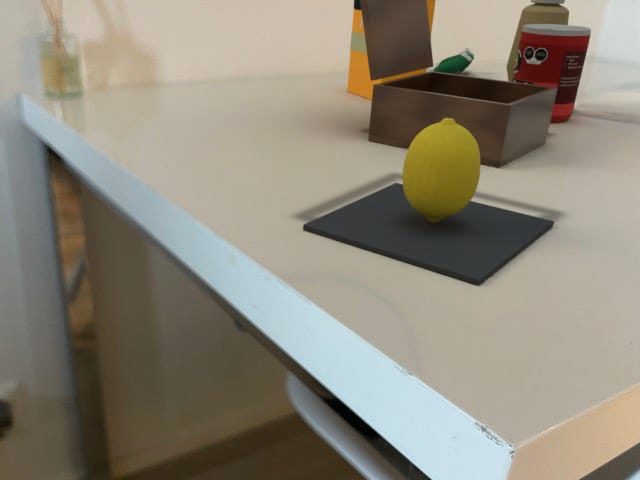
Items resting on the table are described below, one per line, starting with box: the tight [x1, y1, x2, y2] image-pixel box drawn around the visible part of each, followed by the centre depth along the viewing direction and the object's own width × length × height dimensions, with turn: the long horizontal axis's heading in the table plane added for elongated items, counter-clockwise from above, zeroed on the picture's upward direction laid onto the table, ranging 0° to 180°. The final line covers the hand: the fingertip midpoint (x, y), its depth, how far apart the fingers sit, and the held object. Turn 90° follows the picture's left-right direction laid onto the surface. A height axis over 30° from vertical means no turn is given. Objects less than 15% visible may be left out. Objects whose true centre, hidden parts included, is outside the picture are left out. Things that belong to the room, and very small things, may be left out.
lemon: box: [402, 118, 481, 223], centre depth 49 cm, size 6×6×8 cm
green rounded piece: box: [432, 46, 475, 75], centre depth 115 cm, size 9×4×6 cm
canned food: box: [512, 24, 592, 123], centre depth 85 cm, size 8×8×11 cm
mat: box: [302, 182, 555, 286], centre depth 51 cm, size 14×14×1 cm
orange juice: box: [346, 0, 436, 101], centre depth 94 cm, size 8×9×20 cm
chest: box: [367, 70, 557, 169], centre depth 73 cm, size 15×13×6 cm
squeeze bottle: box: [506, 0, 570, 82], centre depth 98 cm, size 8×8×18 cm
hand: (368, 9), depth 76 cm, fingers closed
